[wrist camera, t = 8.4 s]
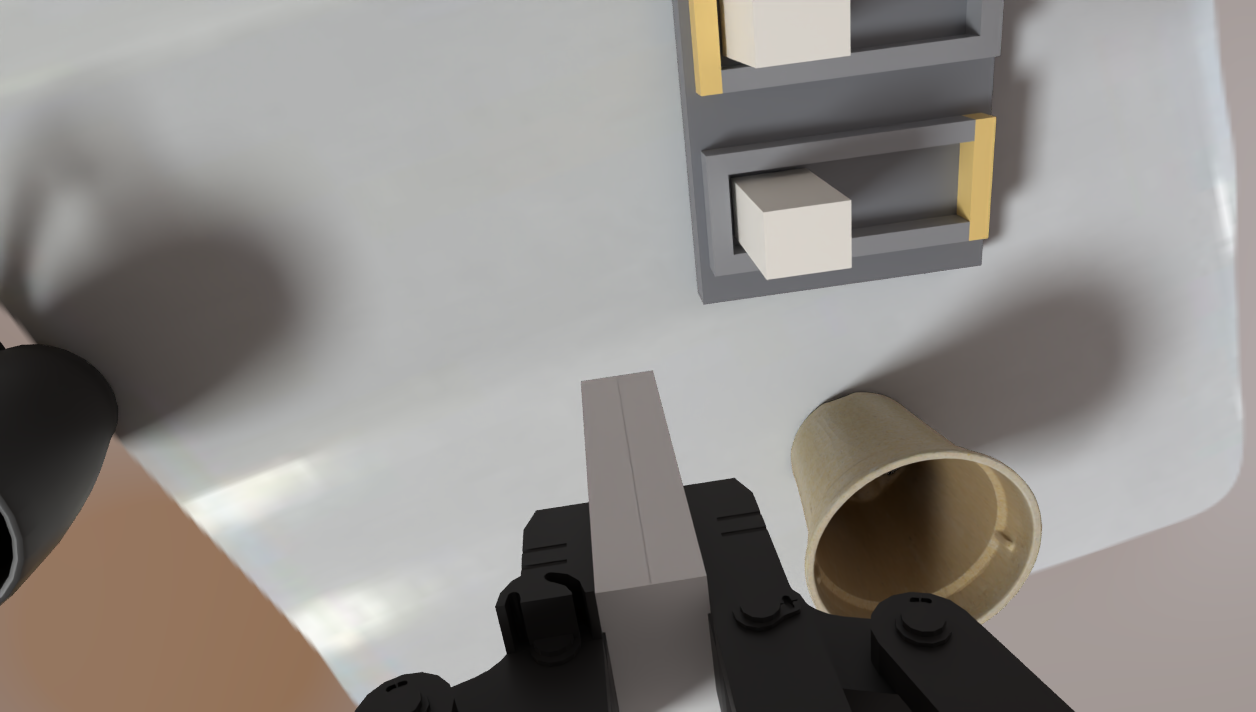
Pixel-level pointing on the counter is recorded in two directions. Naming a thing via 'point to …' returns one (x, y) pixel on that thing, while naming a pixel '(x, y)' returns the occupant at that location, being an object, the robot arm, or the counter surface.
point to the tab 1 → (784, 30)
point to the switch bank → (848, 138)
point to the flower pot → (907, 512)
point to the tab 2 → (792, 223)
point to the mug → (46, 451)
